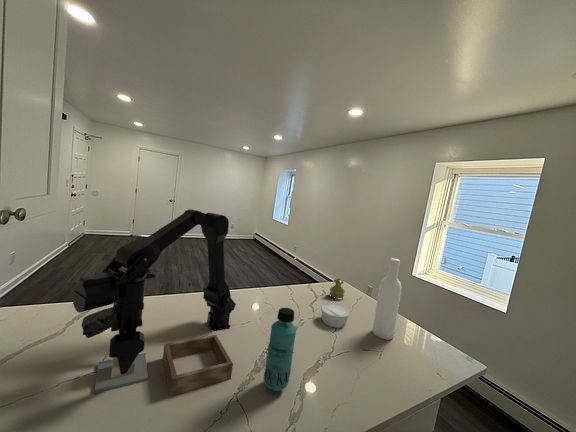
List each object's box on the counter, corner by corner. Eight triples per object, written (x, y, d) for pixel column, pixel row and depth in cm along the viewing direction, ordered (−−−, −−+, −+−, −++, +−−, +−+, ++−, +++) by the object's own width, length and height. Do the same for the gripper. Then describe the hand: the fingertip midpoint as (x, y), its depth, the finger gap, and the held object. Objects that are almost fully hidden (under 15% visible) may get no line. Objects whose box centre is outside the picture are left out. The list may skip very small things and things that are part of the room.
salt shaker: (334, 293, 135) (337, 275, 135) (346, 299, 130) (349, 280, 129) (326, 296, 130) (329, 277, 129) (338, 301, 125) (341, 282, 124)
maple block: (133, 361, 63) (136, 339, 63) (134, 373, 60) (136, 349, 59) (112, 366, 61) (114, 342, 61) (111, 378, 57) (113, 353, 57)
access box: (214, 347, 75) (216, 334, 74) (231, 378, 63) (232, 363, 63) (162, 358, 67) (164, 344, 67) (170, 396, 55) (172, 379, 55)
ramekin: (316, 323, 99) (318, 310, 98) (323, 313, 109) (325, 301, 109) (345, 332, 95) (347, 319, 94) (349, 321, 105) (351, 309, 105)
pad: (144, 355, 67) (145, 353, 67) (147, 380, 59) (147, 377, 59) (98, 364, 62) (98, 362, 62) (94, 393, 53) (94, 390, 53)
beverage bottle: (262, 377, 65) (272, 303, 64) (287, 378, 66) (298, 305, 65) (261, 396, 59) (273, 314, 57) (289, 398, 59) (301, 317, 58)
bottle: (395, 342, 93) (408, 263, 91) (373, 336, 94) (386, 259, 93) (391, 331, 101) (403, 258, 99) (371, 327, 102) (382, 255, 100)
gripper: (91, 286, 62) (86, 346, 63) (80, 322, 47) (73, 400, 48) (142, 283, 69) (137, 338, 70) (147, 314, 53) (140, 384, 54)
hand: (123, 361), depth 60 cm, fingers open, 9 cm apart
